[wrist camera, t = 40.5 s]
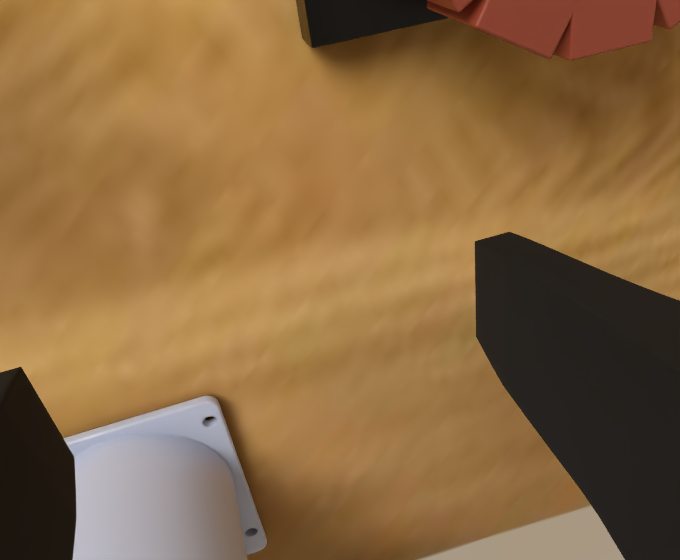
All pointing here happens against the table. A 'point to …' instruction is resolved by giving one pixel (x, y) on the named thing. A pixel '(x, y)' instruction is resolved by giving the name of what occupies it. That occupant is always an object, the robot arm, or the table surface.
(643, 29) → the brick ring
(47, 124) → the table surface
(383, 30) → the peg stand
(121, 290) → the table surface
